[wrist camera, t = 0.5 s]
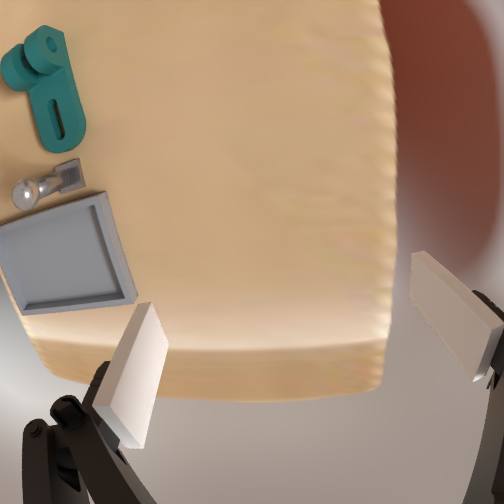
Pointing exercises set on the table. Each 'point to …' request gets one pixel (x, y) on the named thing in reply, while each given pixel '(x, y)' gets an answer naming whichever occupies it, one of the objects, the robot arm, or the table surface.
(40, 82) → the bracket
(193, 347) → the table surface
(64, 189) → the ball stud
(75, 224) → the bin
